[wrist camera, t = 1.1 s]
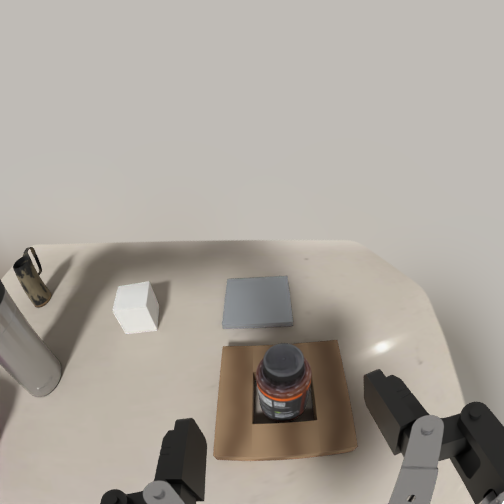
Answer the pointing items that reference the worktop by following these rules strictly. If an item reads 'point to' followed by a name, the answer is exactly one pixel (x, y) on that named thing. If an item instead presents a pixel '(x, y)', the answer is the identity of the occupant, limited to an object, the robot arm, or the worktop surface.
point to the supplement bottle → (283, 382)
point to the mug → (32, 279)
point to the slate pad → (257, 303)
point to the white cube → (136, 308)
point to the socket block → (283, 434)
